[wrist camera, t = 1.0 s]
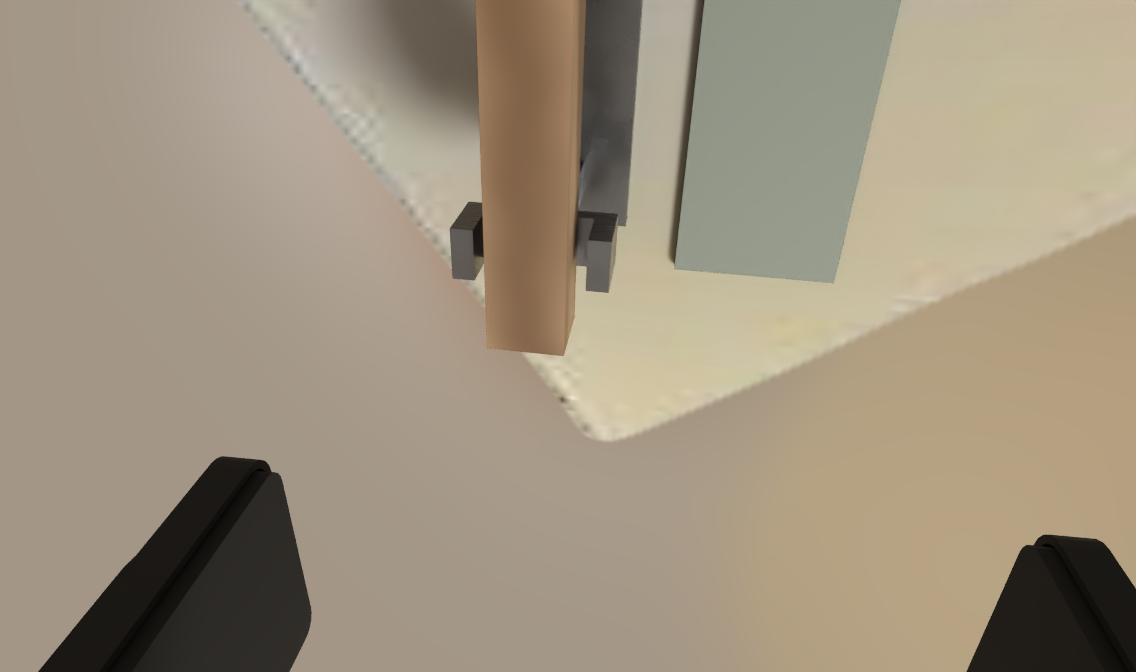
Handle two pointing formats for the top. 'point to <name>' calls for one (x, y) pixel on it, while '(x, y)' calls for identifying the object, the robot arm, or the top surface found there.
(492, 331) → the rail
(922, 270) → the top surface
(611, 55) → the stand
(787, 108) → the mat
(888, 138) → the top surface
